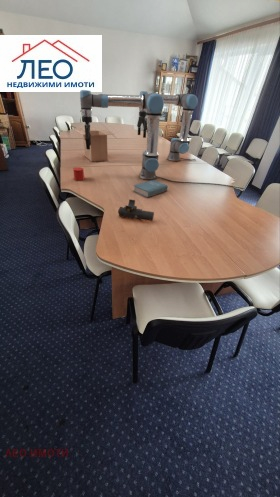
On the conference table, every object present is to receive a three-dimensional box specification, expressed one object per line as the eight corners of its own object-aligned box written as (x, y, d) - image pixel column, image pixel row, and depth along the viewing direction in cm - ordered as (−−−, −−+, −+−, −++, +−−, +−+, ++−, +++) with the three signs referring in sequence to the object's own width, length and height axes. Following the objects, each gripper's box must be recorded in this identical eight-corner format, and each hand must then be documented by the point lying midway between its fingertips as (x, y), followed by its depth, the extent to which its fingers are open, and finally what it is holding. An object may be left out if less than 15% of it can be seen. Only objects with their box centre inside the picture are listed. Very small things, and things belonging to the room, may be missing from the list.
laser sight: (151, 224, 136) (153, 209, 130) (116, 219, 138) (116, 204, 132) (153, 217, 143) (155, 203, 137) (120, 212, 146) (120, 198, 140)
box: (118, 161, 240) (118, 134, 224) (86, 164, 225) (83, 135, 209) (104, 152, 270) (103, 127, 254) (74, 153, 255) (72, 127, 239)
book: (152, 185, 190) (153, 179, 187) (167, 191, 181) (167, 185, 178) (133, 191, 176) (133, 185, 173) (147, 198, 167) (148, 191, 164)
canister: (72, 180, 189) (71, 169, 184) (76, 176, 195) (75, 166, 190) (82, 181, 188) (81, 170, 183) (85, 177, 195) (84, 167, 190)
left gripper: (82, 113, 171) (84, 143, 183) (79, 117, 151) (82, 150, 163) (92, 114, 172) (94, 143, 184) (91, 118, 152) (92, 151, 164)
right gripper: (134, 109, 215) (133, 133, 228) (144, 112, 197) (143, 138, 209) (141, 110, 218) (140, 133, 230) (152, 113, 199) (150, 138, 212)
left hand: (88, 147), depth 174 cm, fingers open, 13 cm apart
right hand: (141, 136), depth 220 cm, fingers open, 13 cm apart
